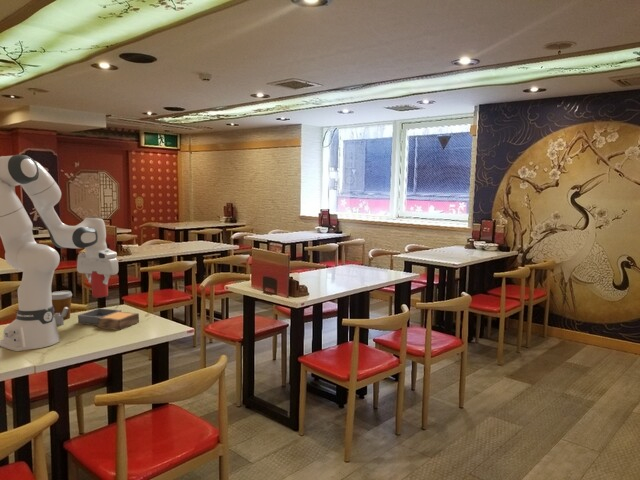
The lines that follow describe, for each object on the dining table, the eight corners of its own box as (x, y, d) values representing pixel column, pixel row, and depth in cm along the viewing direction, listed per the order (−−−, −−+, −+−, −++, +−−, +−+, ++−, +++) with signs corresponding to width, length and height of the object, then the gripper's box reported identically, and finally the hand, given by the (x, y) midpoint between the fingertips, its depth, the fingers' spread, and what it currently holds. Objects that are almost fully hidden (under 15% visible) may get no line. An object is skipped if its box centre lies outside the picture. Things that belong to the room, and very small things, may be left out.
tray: (78, 322, 213) (77, 315, 212) (99, 315, 225) (99, 308, 224) (101, 325, 209) (100, 317, 208) (121, 317, 221) (121, 310, 220)
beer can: (102, 298, 213) (100, 271, 211) (89, 297, 214) (87, 271, 212) (111, 294, 219) (109, 268, 217) (98, 294, 220) (96, 268, 218)
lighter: (52, 325, 209) (51, 307, 209) (55, 324, 211) (53, 306, 210) (67, 325, 209) (66, 307, 208) (70, 324, 210) (68, 306, 209)
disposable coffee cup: (54, 316, 224) (52, 291, 222) (76, 315, 225) (75, 290, 224) (47, 322, 214) (45, 295, 213) (70, 320, 216) (68, 294, 215)
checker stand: (98, 327, 206) (97, 318, 206) (117, 320, 217) (117, 311, 217) (120, 329, 202) (120, 320, 202) (139, 322, 213) (138, 313, 213)
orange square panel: (102, 320, 207) (102, 317, 207) (117, 314, 215) (117, 312, 215) (119, 321, 204) (119, 319, 204) (134, 316, 212) (134, 313, 212)
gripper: (72, 253, 213) (74, 283, 215) (109, 255, 207) (111, 286, 209) (83, 251, 219) (85, 280, 221) (120, 253, 213) (121, 283, 215)
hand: (98, 283), depth 215 cm, fingers closed on beer can, 6 cm apart
